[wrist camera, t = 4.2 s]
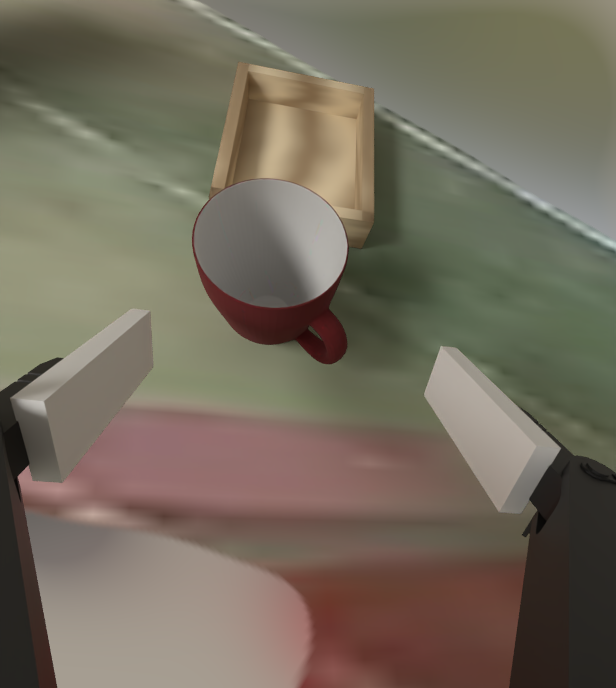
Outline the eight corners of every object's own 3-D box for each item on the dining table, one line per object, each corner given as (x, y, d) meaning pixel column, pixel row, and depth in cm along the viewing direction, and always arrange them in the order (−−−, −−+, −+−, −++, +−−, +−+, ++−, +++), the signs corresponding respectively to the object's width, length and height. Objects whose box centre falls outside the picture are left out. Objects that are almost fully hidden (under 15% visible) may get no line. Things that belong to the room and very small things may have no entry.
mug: (361, 332, 27) (415, 264, 17) (300, 409, 24) (326, 377, 15) (263, 256, 28) (264, 154, 19) (193, 321, 25) (154, 240, 16)
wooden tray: (214, 227, 28) (208, 196, 25) (240, 100, 34) (238, 61, 30) (361, 248, 30) (373, 222, 26) (363, 123, 35) (374, 88, 32)
